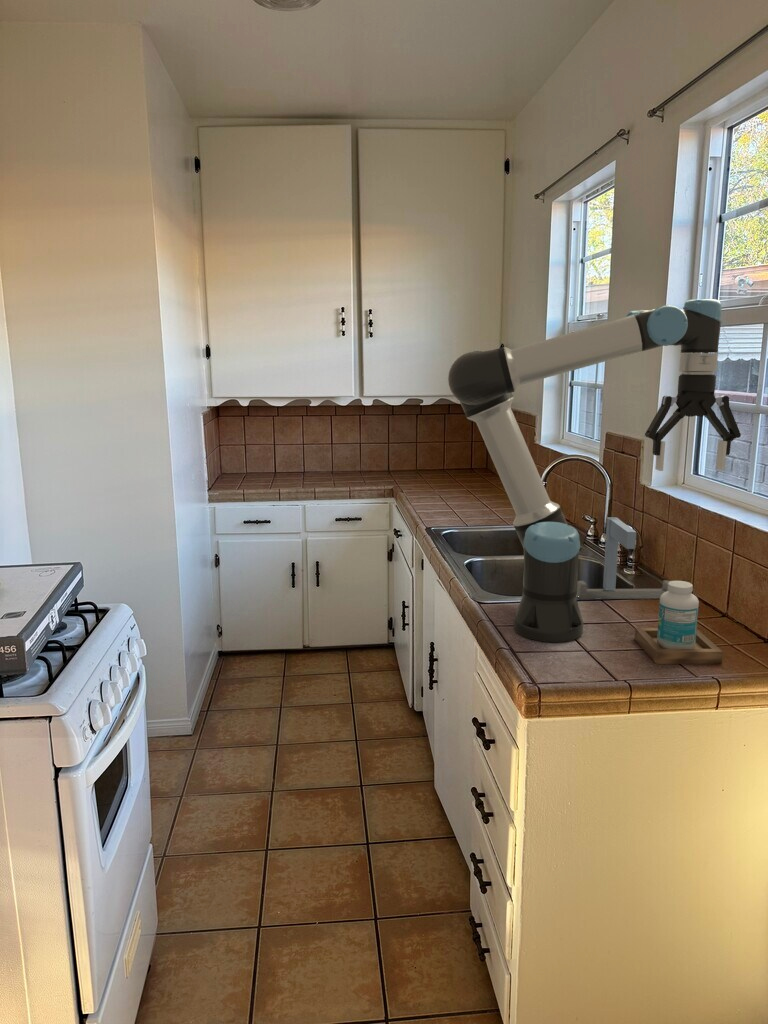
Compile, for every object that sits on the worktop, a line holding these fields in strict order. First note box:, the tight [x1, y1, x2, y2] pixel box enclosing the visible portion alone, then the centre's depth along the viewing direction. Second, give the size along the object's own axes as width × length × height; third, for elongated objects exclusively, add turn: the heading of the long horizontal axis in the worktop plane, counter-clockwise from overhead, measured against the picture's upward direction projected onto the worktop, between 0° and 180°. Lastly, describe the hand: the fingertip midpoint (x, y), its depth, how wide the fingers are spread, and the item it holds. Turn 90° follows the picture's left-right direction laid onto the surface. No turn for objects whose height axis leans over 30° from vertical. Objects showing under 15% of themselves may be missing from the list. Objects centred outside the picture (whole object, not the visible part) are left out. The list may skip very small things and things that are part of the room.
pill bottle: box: [657, 580, 700, 649], centre depth 150 cm, size 8×7×14 cm
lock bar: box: [602, 516, 637, 590], centre depth 176 cm, size 2×15×18 cm, turn 0°
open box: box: [634, 627, 724, 665], centre depth 151 cm, size 13×13×2 cm
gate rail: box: [577, 580, 671, 601], centre depth 184 cm, size 23×3×4 cm, turn 90°
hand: (689, 470), depth 164 cm, fingers open, 13 cm apart
